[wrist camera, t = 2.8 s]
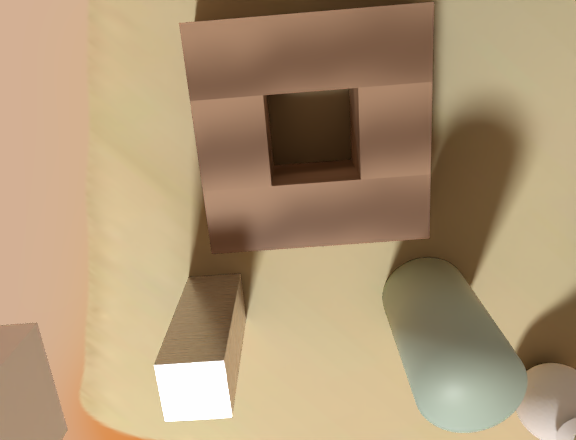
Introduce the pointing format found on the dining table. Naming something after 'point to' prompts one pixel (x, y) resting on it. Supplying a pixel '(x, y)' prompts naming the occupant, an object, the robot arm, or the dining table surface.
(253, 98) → the socket block
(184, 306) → the square peg
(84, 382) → the dining table surface
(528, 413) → the ornament
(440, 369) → the round peg
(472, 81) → the dining table surface
